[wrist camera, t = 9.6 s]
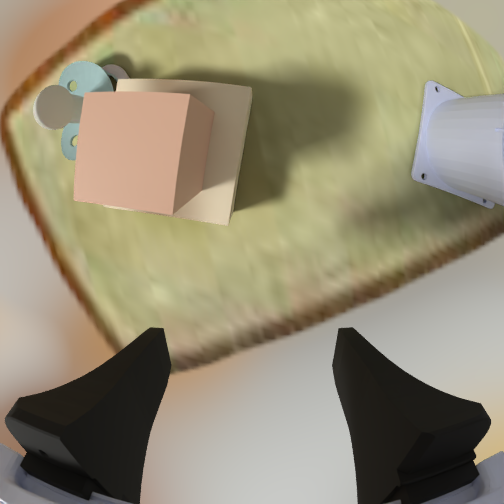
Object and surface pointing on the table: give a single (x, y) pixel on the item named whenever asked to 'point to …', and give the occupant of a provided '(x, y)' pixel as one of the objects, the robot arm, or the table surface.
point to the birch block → (210, 143)
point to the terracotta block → (141, 150)
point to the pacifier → (72, 99)
